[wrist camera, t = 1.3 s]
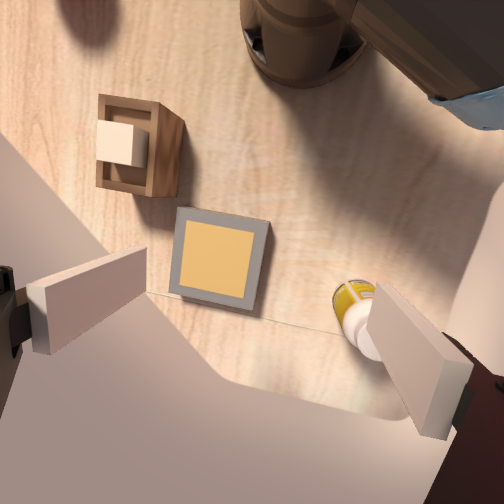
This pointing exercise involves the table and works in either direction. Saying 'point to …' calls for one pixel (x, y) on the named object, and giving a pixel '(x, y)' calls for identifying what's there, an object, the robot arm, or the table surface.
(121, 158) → the block
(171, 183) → the stained wood crate
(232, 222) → the dock
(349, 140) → the table surface
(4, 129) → the table surface
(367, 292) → the pill bottle
